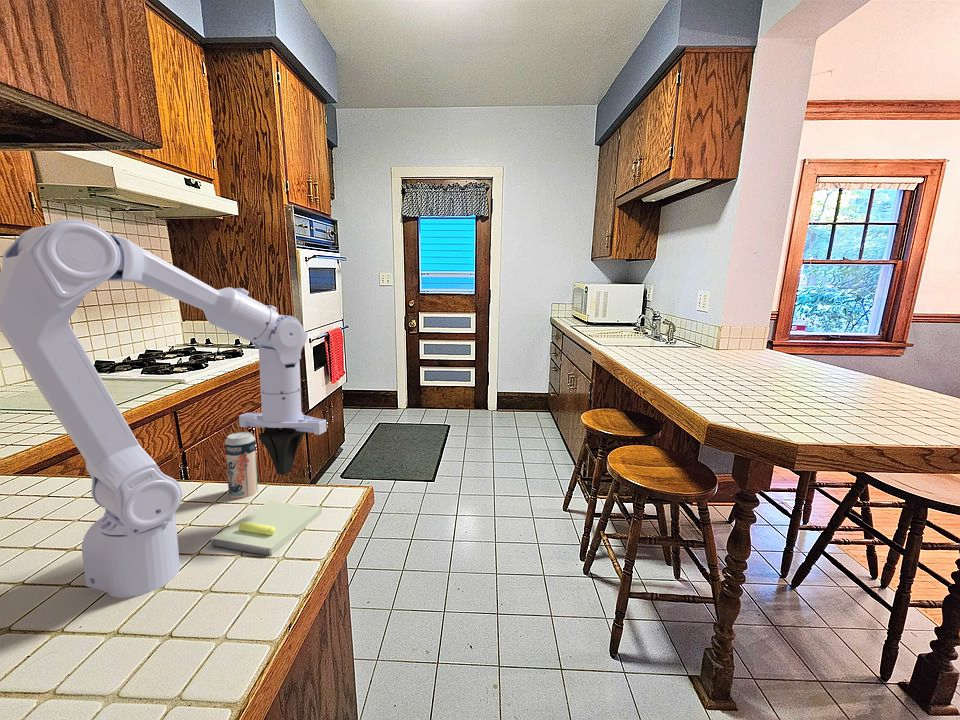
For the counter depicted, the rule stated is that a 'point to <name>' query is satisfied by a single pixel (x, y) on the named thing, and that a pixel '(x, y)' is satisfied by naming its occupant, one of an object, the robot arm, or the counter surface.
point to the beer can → (241, 465)
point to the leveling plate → (266, 528)
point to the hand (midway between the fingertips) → (284, 472)
